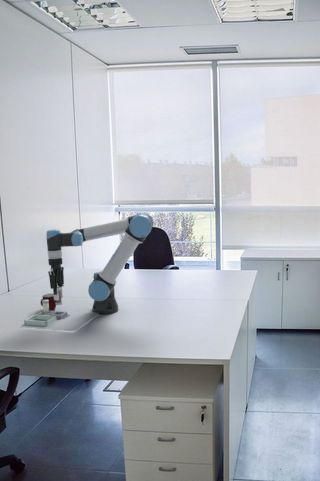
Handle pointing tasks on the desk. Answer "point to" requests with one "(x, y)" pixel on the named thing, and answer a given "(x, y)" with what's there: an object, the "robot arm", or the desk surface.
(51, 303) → the mug
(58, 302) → the fuse
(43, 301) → the fuse
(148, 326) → the desk surface
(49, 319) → the tray
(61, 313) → the block
